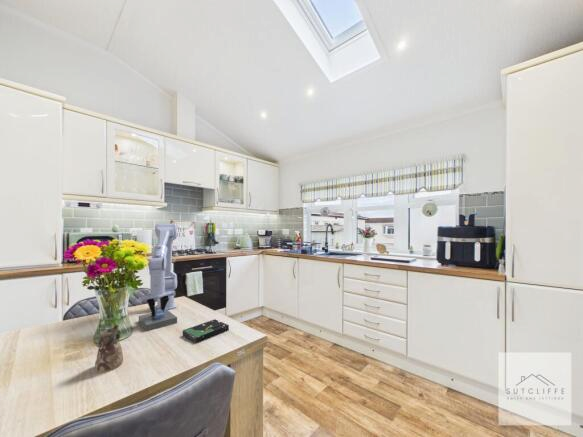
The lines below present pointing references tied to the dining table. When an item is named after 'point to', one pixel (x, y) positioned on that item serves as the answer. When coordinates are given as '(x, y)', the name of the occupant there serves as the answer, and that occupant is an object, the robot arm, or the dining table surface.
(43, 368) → the dining table surface
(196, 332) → the disk drive
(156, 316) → the servo
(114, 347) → the figurine
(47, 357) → the dining table surface
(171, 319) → the chassis
